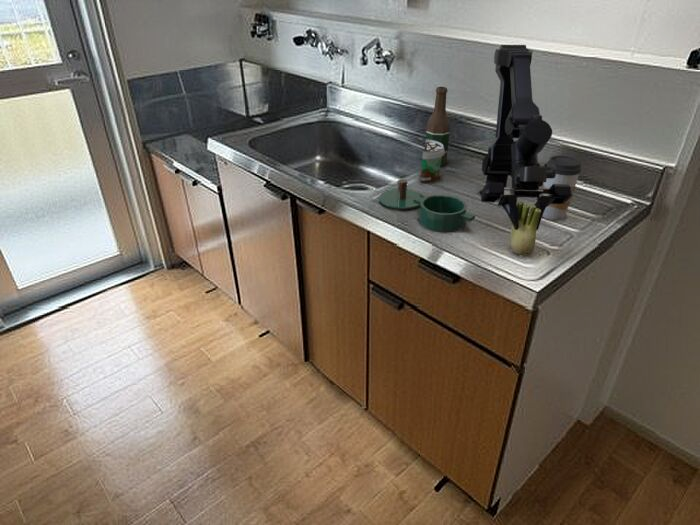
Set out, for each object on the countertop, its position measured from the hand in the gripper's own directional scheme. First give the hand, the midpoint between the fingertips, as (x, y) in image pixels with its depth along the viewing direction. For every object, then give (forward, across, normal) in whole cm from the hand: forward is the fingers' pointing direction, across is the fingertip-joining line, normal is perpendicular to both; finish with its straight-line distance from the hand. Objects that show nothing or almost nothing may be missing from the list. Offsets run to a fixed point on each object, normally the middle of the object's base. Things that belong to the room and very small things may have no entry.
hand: (526, 229), depth 109 cm
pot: (-6, -17, +16) cm, 24 cm away
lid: (-15, -27, +24) cm, 39 cm away
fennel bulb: (+4, 0, +6) cm, 7 cm away
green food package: (-27, -17, +37) cm, 49 cm away
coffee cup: (-10, +13, +20) cm, 26 cm away
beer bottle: (-36, -15, +45) cm, 60 cm away
